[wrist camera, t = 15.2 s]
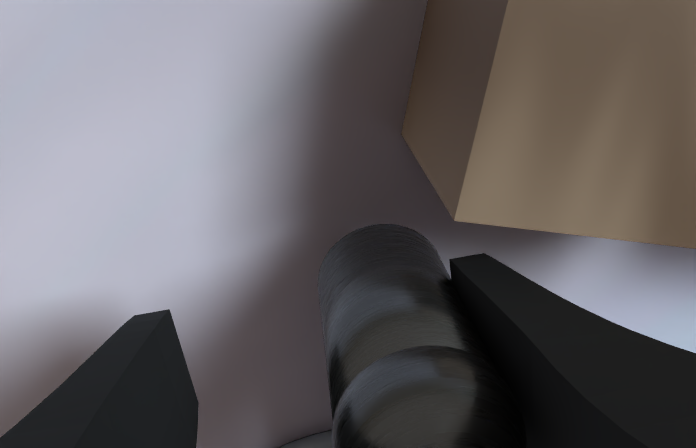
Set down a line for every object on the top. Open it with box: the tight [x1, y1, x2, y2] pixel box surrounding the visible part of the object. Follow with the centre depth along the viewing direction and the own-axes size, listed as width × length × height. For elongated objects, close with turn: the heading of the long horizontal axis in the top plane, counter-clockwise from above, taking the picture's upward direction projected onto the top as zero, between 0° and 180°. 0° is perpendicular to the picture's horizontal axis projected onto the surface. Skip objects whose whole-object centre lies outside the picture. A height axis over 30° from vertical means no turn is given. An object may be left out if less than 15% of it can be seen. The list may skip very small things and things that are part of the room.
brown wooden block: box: [401, 0, 696, 249], centre depth 11 cm, size 4×4×6 cm
